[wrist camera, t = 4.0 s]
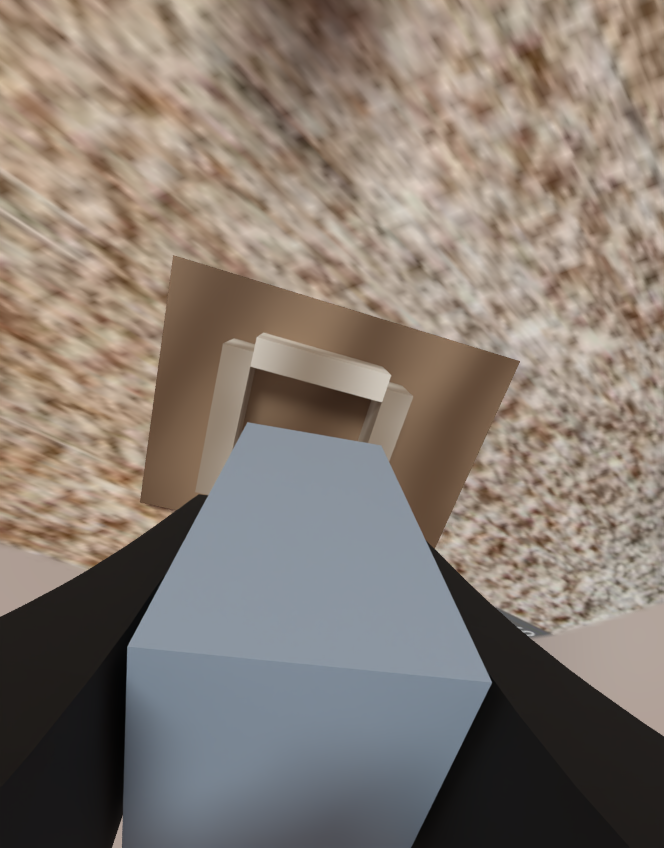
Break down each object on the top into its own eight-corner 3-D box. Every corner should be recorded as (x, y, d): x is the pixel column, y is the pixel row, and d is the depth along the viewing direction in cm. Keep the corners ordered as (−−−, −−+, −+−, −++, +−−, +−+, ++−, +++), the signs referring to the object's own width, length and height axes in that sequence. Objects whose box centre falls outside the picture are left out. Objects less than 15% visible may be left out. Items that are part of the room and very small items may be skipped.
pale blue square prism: (381, 445, 11) (491, 682, 4) (352, 553, 12) (400, 868, 5) (247, 422, 10) (127, 646, 4) (232, 537, 11) (121, 859, 5)
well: (513, 359, 17) (546, 369, 15) (425, 555, 21) (439, 590, 18) (178, 256, 15) (152, 248, 13) (145, 496, 19) (120, 526, 16)
